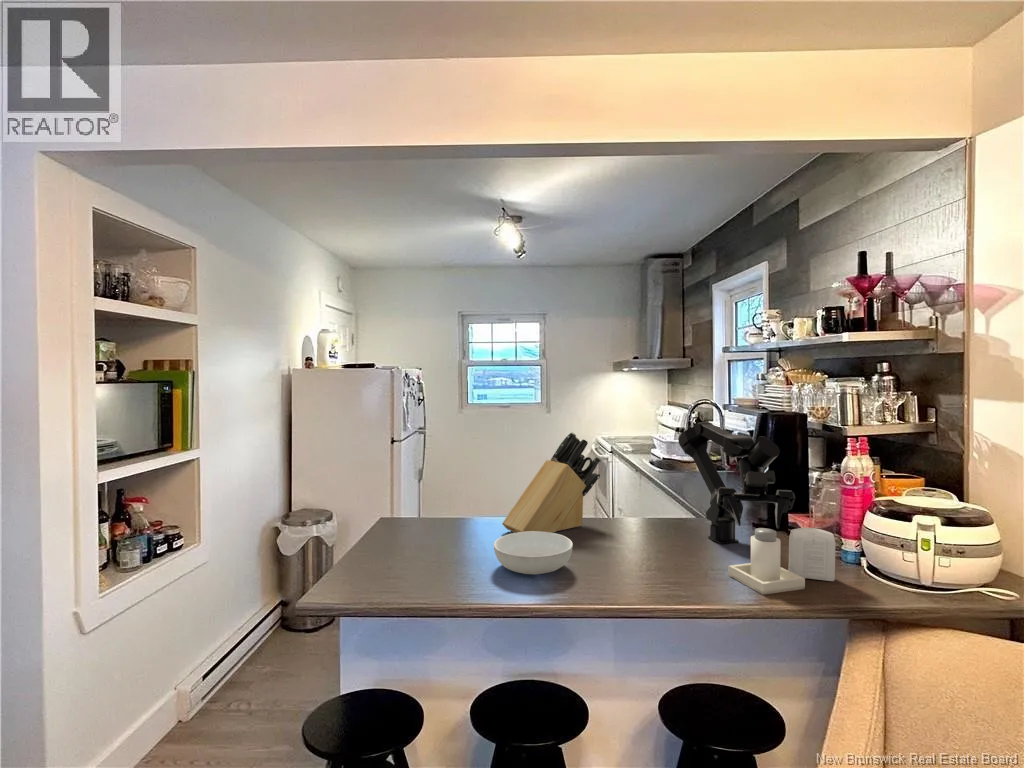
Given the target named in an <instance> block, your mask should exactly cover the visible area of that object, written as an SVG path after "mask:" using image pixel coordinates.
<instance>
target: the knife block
mask: <svg viewBox="0 0 1024 768" xmlns="http://www.w3.org/2000/svg"><path fill="white" fill-rule="evenodd" d="M587 446H588V440H586V439H581V440H580V439H579V438H578V437H577V435H576V434H575V433H574V432H572V431H571V432H570V433H569V434H568V435H567V436H566V437H564V439H563V440H562V442H561V443H560V444H559V446H558V447H557V449H556V450H555V452H554V454H553V455H552V457H551V458H550V460H549V459H547V460H545V462H543V464H542V465H541V466H540V468H539V470H538V471H537V473H535V476H534V477H533V478H532V479H531V481H530V482H529V484H528V485H527V486H526V488H525V490H523V492H522V494H521V496H520V497H519V498H518V499H517V501H516V503H515V504H514V505H513V507H512V508H511V509H510V511H509V512H508V514H507V515H506V517H505V518H504V520H503V521H502V523H501V524H502V525H503V527H504V528H505V529H506V530H508V531H510V532H513V533H518V532H528V531H539V532H550V533H556V532H558V531H563V530H567V529H571V528H572V529H573V528H579V527H580V526H583V518H584V517H583V515H584V512H583V511H584V497H585V496H586V495H587V494H588V493H589V491H590V490H591V489H592V488H593V487H594V485H595V483H596V482H597V481H598V480H599V479H600V477H601V474H599V473H596V472H594V471H595V470H596V468H597V466H598V464H599V463H600V462H601V461H602V460H601V458H599V457H598V456H597V457H595V458H594V459H592V458H591V457H590V456H589V457H588V456H587V457H585V455H584V454H583V452H584V451H585V450H586V447H587ZM587 461H589V464H588V466H587V467H586V468H585V469H584V470H583V468H584V467H585V465H586V463H587Z"/></svg>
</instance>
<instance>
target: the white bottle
mask: <svg viewBox="0 0 1024 768" xmlns="http://www.w3.org/2000/svg"><path fill="white" fill-rule="evenodd" d="M750 563H751V576H753V577H755V578H757V579H759V580H761V581H763V582H766V581H774V580H780V567H781V539H780V538H778V537H777V531H776V530H774V529H771V528H765V527H758V528H755V529H754V535H751V536H750Z"/></svg>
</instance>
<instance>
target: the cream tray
mask: <svg viewBox="0 0 1024 768" xmlns="http://www.w3.org/2000/svg"><path fill="white" fill-rule="evenodd" d="M727 569H728V570H727V571H728V576H729V577H730V578H733V579H734V580H736V581H738V582H740V583H741V584H743V585H745V586H747V587H748V588H750V589H752V590H754V591H756V592H758V593H759V594H761V595H770V594H777V593H784V592H791V591H799V590H805V589H806V578H803V577H801V576H799V575H797V574H795V573H793V572H790V571H789V569H786V568H784V567H781V566H780V580H774V581H766V582H763V581H761V580H759V579H757V578H755V577H753V576H751V562H748V563H740V564H731V565H728V568H727ZM728 576H727V577H728Z"/></svg>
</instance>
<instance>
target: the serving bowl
mask: <svg viewBox="0 0 1024 768" xmlns="http://www.w3.org/2000/svg"><path fill="white" fill-rule="evenodd" d="M573 546H574V544H573V541H572V540H571V539H570V538H568V537H567V536H565V535H563V534H560V533H556V532H552V533H550V532H539V531H528V532H518V533H515V532H513V533H509V534H505V535H503V536H500V537H498V538H497V539H495V541H494V542H493V550H494V555H495V557H496V559H497V561H498V563H500V564H501V565H502V566H503V567H504V568H506V569H507V570H509V571H512V572H514V573H518V574H524V575H542V574H549V573H552V572H554V571H557V570H559V569H561V568H562V567H564V566H565V565H566V564H567V563H568V561H569V559H570V558H571V556H572V552H573Z"/></svg>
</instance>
